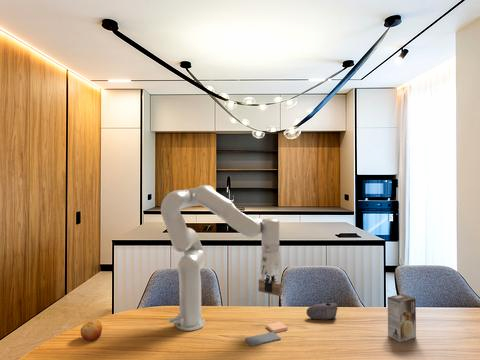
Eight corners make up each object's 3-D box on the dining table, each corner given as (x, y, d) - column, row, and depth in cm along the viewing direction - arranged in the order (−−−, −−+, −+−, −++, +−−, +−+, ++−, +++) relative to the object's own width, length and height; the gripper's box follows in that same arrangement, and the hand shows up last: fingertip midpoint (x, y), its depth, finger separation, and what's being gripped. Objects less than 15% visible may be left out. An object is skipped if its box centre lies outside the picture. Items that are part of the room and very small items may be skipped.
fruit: (109, 330, 137) (102, 317, 133) (97, 347, 131) (90, 335, 127) (94, 327, 140) (87, 315, 136) (82, 344, 133) (73, 332, 129)
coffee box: (402, 331, 139) (402, 293, 139) (416, 337, 133) (416, 298, 133) (387, 335, 135) (387, 296, 135) (400, 342, 129) (400, 302, 129)
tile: (266, 328, 143) (273, 334, 137) (266, 324, 143) (273, 330, 137) (280, 325, 146) (287, 331, 140) (280, 321, 146) (287, 327, 140)
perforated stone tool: (307, 321, 149) (307, 305, 149) (305, 316, 154) (305, 301, 154) (340, 321, 149) (340, 305, 149) (336, 316, 154) (336, 301, 154)
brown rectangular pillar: (279, 296, 137) (279, 284, 137) (258, 291, 142) (258, 279, 142) (281, 294, 139) (282, 282, 139) (261, 289, 144) (261, 278, 144)
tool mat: (251, 346, 126) (251, 344, 126) (245, 339, 132) (245, 337, 132) (280, 339, 132) (280, 338, 132) (273, 333, 137) (273, 331, 137)
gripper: (269, 252, 132) (268, 298, 132) (286, 245, 145) (286, 287, 145) (253, 249, 136) (252, 294, 136) (271, 243, 149) (271, 284, 149)
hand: (270, 290), depth 140 cm, fingers closed on brown rectangular pillar, 2 cm apart
